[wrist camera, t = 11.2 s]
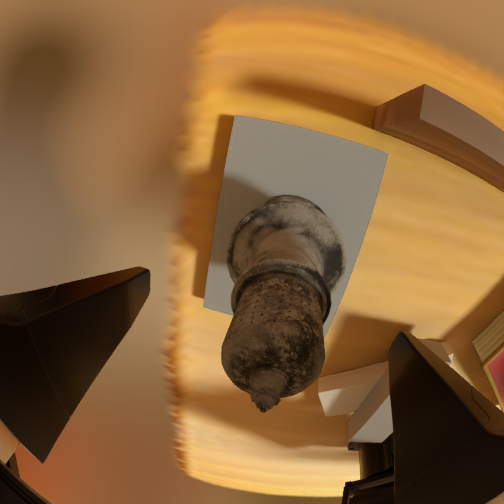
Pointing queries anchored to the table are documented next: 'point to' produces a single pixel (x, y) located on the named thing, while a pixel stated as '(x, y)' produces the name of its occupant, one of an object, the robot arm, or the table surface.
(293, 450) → the table surface
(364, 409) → the top offcut
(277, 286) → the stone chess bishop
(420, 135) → the long thin taupe batten
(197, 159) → the table surface
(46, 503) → the robot arm
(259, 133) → the slate mat
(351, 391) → the bottom offcut
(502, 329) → the hardcover book
